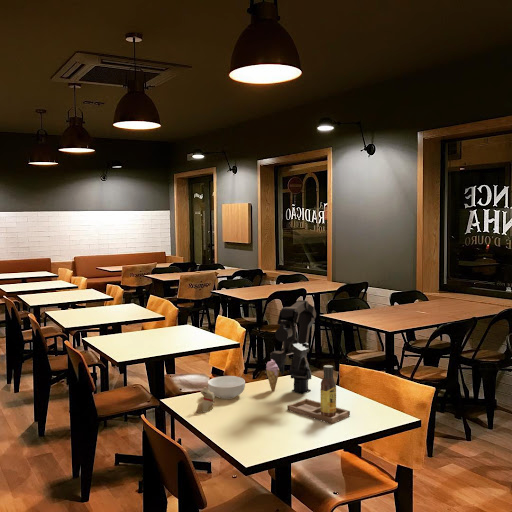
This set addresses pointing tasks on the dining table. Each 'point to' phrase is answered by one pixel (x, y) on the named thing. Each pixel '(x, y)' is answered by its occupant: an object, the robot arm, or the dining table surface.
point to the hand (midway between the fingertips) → (289, 372)
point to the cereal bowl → (226, 386)
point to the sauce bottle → (328, 392)
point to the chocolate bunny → (206, 401)
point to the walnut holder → (316, 410)
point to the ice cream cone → (272, 373)
